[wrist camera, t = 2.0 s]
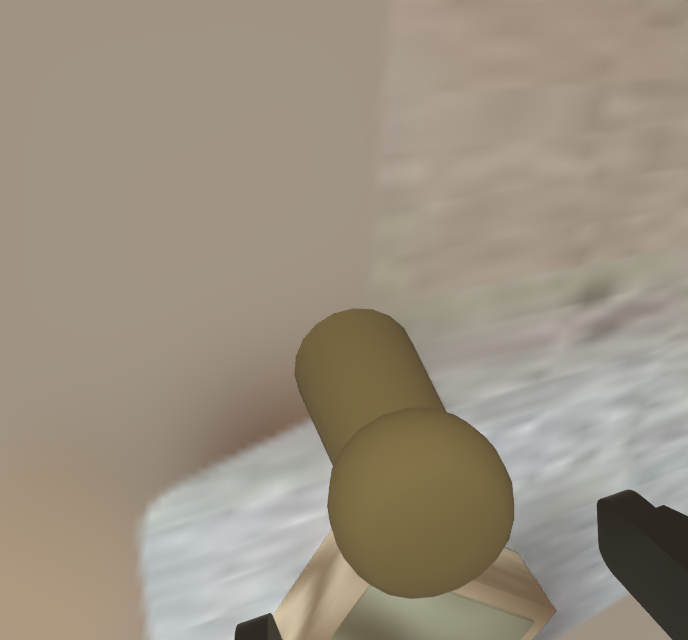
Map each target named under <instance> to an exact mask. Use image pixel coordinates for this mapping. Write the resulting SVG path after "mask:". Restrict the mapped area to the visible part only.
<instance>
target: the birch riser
mask: <svg viewBox="0 0 688 640" xmlns="http://www.w3.org/2000/svg"><path fill="white" fill-rule="evenodd" d="M555 612H556V609H555V608H554V606H553V605H552V603H551V602H550V600H549V599H548V597H547V596H546V594H545V593H544V591H543V590H542V588H541V587H540V585H539V584H538V582H537V581H536V579H535V578H534V576H533V575H532V573H531V572H530V570H529V569H528V568H527V566H526V565H525V563H524V562H523V560H522V559H521V557H520V556H519V554H518V553H516V552H513V551H511V550H508V549H506V548H503V550H502V551H501V553H500V555H499V556H498V558H497V560H496V561H495V562H493V563H492V564H491V565H490V566H489V567H488V568H487V569H486V570H485V571H484V572H483V573H482V574H481V575H480V576H479V577H477V578H476V579H474V580H472V581H471V582H469V583H467V584H466V585H464V586H462V587H461V588H459V589H457V590H454V591H451V592H448V593H445V594H442V595H439V596H435V597H427V598H415V599H408V598H403V597H397V596H392V595H388V594H386V593H384V592H382V591H380V590H379V589H377V588H375V587H373V586H371V585H370V584H368V583H367V582H366V581H364V580H363V579H362V578H361V577H359V576H358V575H357V574H356V572H355V571H354V570H353V569H352V567H351V566H350V565H349V564H348V563H347V561H346V560H345V559H344V558H343V556H342V554H341V552H340V550H339V548H338V546H337V544H336V541H335V538H334V534H333V531H332V530H331V531H330V533H329V534H328V536H327V537H326V539H325V540H324V542H323V543H322V545H321V546H320V548H319V549H318V550H317V552H316V553H315V555H314V556H313V558H312V559H311V561H310V562H309V564H308V565H307V567H306V568H305V569H304V571H303V572H302V574H301V575H300V577H299V578H298V580H297V581H296V583H295V584H294V586H293V587H292V588H291V590H290V591H289V593H288V594H287V596H286V597H285V599H284V600H283V602H282V603H281V605H280V606H279V607H278V609H277V610H276V612H275V613H274V615H273V617H274V620H275V622H276V625H277V627H278V629H279V632H280V634H281V637H282V639H283V640H532V639H533V638H534V637H535V636H536V635H537V633H538V632H539V631H540V630H541V629H542V628H543V626H544V625H545V624H546V623H547V622H548V620H549V619H550V618H551V617H552V616H553V615H554V613H555Z"/></svg>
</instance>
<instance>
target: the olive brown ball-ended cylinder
mask: <svg viewBox="0 0 688 640" xmlns="http://www.w3.org/2000/svg"><path fill="white" fill-rule="evenodd" d="M295 378H296V382H297V385H298V388H299V392H300V394H301V396H302V398H303V401H304V403H305V405H306V407H307V410H308V412H309V414H310V416H311V419H312V421H313V423H314V425H315V427H316V430H317V432H318V434H319V436H320V438H321V441H322V443H323V445H324V447H325V449H326V452H327V454H328V456H329V458H330V460H331V463H332V465H333V468H332V472H331V478H330V486H329V495H328V505H327V507H328V513H329V520H330V524H331V527H332V531H333V534H334V538H335V541H336V544H337V546H338V548H339V550H340V552H341V554H342V556H343V558H344V559H345V560H346V561H347V563H348V564H349V565H350V566H351V567H352V569H353V570H354V571H355V572H356V574H357V575H358V576H359V577H361V578H362V579H363V580H364V581H366V582H367V583H368V584H370V585H371V586H373V587H375V588H377V589H379V590H380V591H382V592H384V593H386V594H388V595H392V596H397V597H403V598H408V599H415V598H427V597H435V596H439V595H442V594H445V593H448V592H451V591H454V590H457V589H459V588H461V587H462V586H464V585H466V584H467V583H469V582H471V581H472V580H474V579H476V578H477V577H479V576H480V575H481V574H482V573H483V572H484V571H485V570H486V569H487V568H488V567H489V566H490V565H491V564H492V563H493V562H495V561H496V560H497V558H498V556H499V555H500V553H501V551H502V550H503V548H504V547H505V545H506V543H507V542H508V540H509V537H510V533H511V529H512V525H513V521H514V498H513V488H512V482H511V479H510V477H509V474H508V472H507V470H506V467H505V466H504V464H503V462H502V460H501V458H500V456H499V455H498V453H497V451H496V449H495V448H494V446H493V445H492V444H491V443H490V442H489V441H488V440H487V439H486V437H485V436H484V435H482V434H481V433H480V432H479V431H477V430H476V429H475V428H474V427H472V426H471V425H470V424H469V423H467V422H466V421H464V420H462V419H461V418H459V417H457V416H455V415H453V414H450V413H447V412H446V410H445V408H444V406H443V404H442V402H441V400H440V398H439V396H438V394H437V392H436V390H435V388H434V386H433V384H432V382H431V380H430V378H429V376H428V374H427V372H426V370H425V368H424V366H423V364H422V362H421V360H420V358H419V356H418V354H417V352H416V350H415V348H414V345H413V343H412V342H411V340H410V338H409V336H408V335H407V333H406V331H405V329H404V328H403V327H402V326H401V325H400V324H398V323H397V322H396V321H395V320H394V319H393V318H391V317H390V316H388V315H385V314H383V313H380V312H378V311H375V310H371V309H350V310H346V311H343V312H338V313H334V314H332V315H331V316H329V317H327V318H326V319H324V320H323V321H321V322H319V323H318V324H316V325H315V326H314V328H313V329H312V330H311V331H310V332H309V334H308V335H307V336H306V337H305V338H304V339H303V341H302V344H301V346H300V349H299V351H298V353H297V355H296V363H295Z"/></svg>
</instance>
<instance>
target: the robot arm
mask: <svg viewBox="0 0 688 640" xmlns="http://www.w3.org/2000/svg"><path fill="white" fill-rule="evenodd" d="M597 520H598V543H599V550H600V553H601V555H602V558H603V560H604V562H605V563H606V565H607V567H608V568H609V570H610V571H611V572H612V573H613V575H614V576H615V577H616V578H617V579H618V580H619V581H620V582H621V584H622V585H623V586H624V587H625V588H626V589H627V590H628V591H629V592H630V593H631V595H632V596H633V597H634V598H635V599H636V600H637V601H638V602H639V603H640V604H641V606H642V607H643V608H644V609H645V610H646V611H647V612H648V613H649V614H650V615H651V617H652V618H653V619H654V620H655V621H656V622H657V623H658V624H659V625H660V626H661V628H662V629H663V630H664V631H665V632H666V633H667V634H668V635H669V636H670V637H671V638H672V640H688V516H686V515H684V514H682V513H680V512H678V511H675V510H673V509H671V508H669V507H667V506H665V505H662V506H660V507H657V508H655V507H654V506H653V505H652V504H650V503H649V502H648V501H647V500H646V499H644V498H643V497H642V496H641V495H639V494H638V493H636V492H635V491H632V490H625V491H622V492H619V493H616V494H613V495H610V496H608V497H605V498H602V499H600V500H598V502H597ZM235 640H283V639H282V637H281V634H280V632H279V629H278V627H277V625H276V622H275V620H274V617H273V615H272V614H271V613H269V614H266V615H263V616H260V617H257V618H254V619H252V620H249V621H246V622H243V623H240V624H238V625H237V627H236V631H235Z"/></svg>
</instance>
